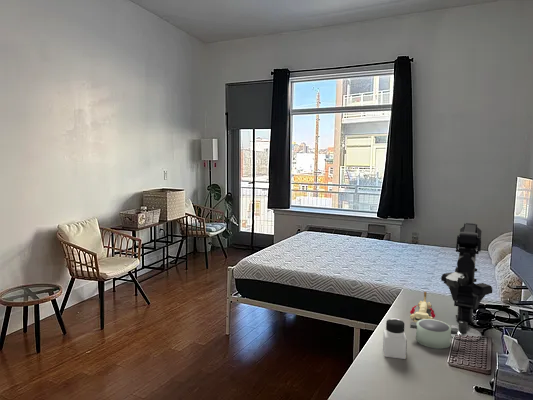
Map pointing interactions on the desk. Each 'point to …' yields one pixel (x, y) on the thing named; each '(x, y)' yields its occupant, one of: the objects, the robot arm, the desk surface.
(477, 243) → the robot arm
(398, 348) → the medicine bottle
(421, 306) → the cat figure
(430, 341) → the pot
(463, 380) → the desk surface
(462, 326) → the lid
